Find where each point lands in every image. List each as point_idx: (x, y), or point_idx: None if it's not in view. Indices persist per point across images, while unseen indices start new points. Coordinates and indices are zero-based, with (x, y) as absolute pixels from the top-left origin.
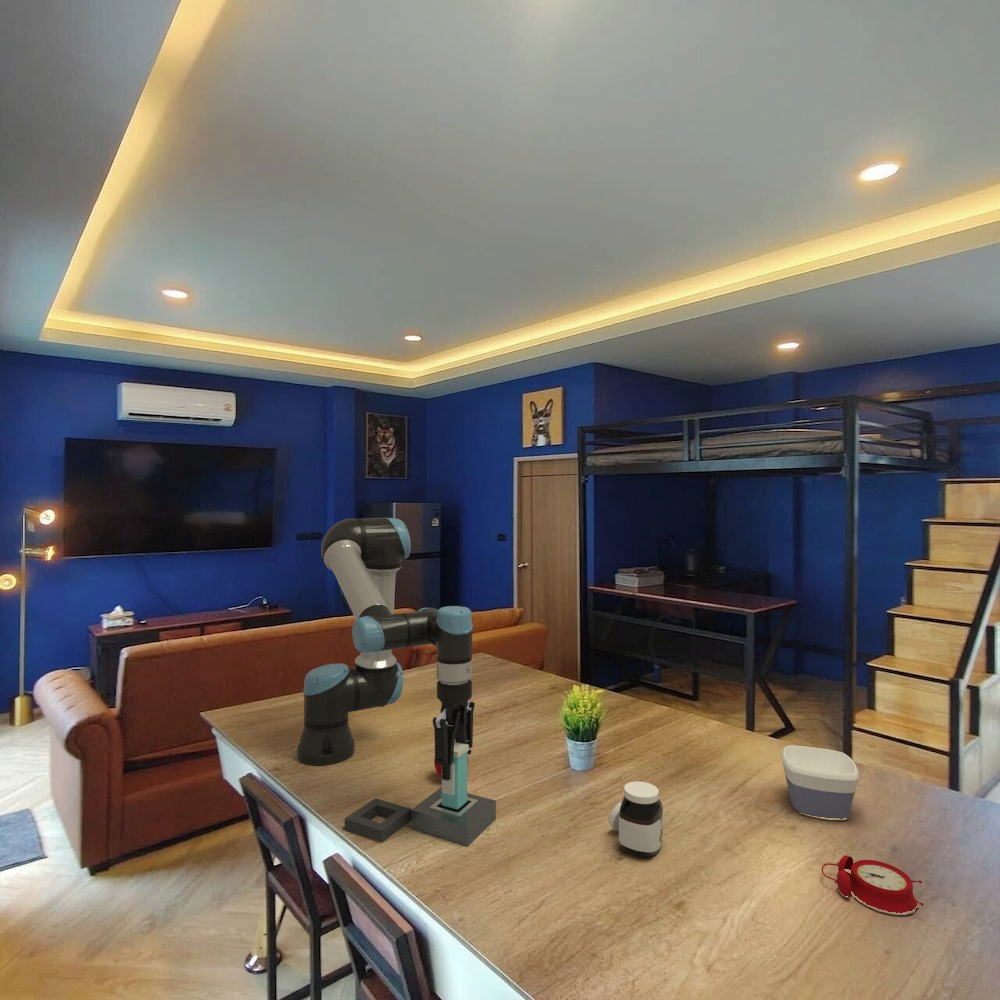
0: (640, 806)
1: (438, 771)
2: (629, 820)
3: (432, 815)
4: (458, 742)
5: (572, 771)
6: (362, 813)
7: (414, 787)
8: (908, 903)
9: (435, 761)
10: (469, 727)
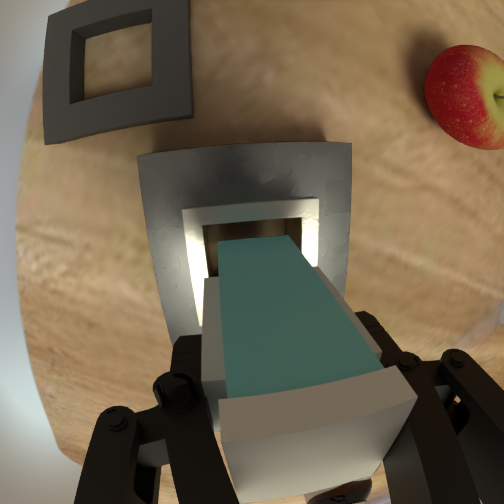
0: None
1: (432, 70)
2: (309, 501)
3: (153, 248)
4: (398, 436)
5: (500, 308)
6: (87, 21)
7: (359, 20)
8: None
9: (98, 421)
10: (476, 488)
